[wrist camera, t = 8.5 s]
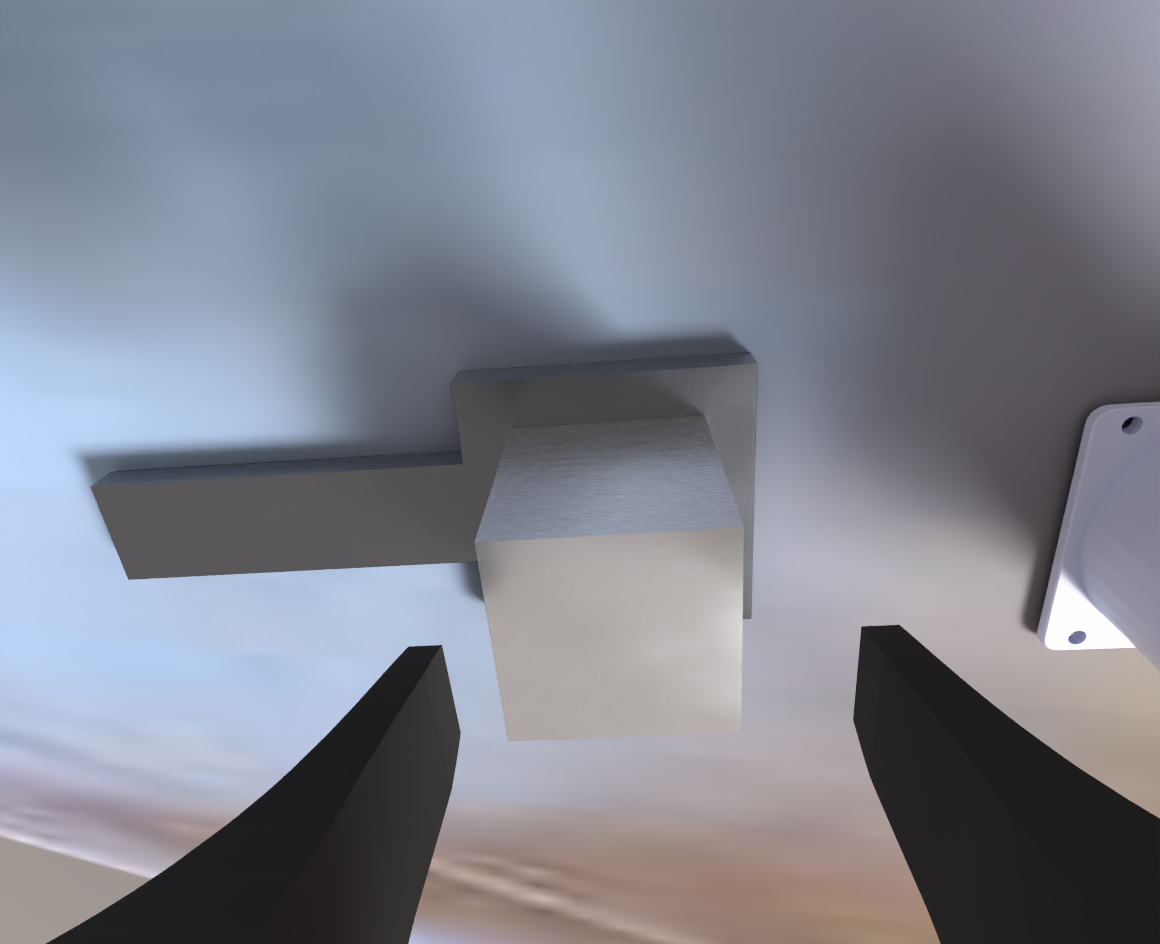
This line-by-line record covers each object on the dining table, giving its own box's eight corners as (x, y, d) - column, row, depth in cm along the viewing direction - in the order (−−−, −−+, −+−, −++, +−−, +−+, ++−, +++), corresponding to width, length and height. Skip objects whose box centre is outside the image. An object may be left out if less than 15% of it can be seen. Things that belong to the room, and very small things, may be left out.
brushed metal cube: (704, 415, 19) (743, 527, 14) (706, 579, 21) (741, 731, 16) (510, 428, 20) (474, 542, 14) (532, 588, 22) (508, 741, 16)
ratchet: (748, 350, 20) (783, 403, 16) (744, 595, 23) (771, 687, 19) (82, 396, 21) (-35, 455, 17) (170, 623, 24) (89, 714, 20)
